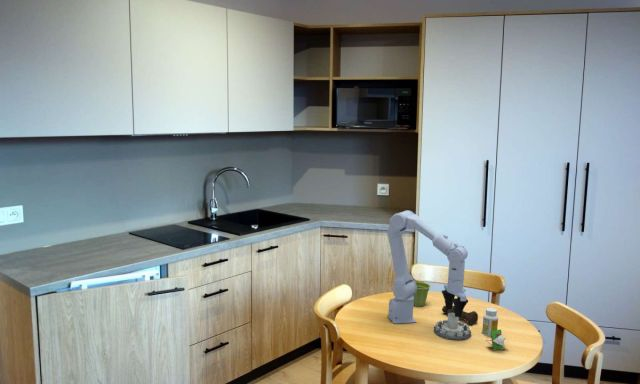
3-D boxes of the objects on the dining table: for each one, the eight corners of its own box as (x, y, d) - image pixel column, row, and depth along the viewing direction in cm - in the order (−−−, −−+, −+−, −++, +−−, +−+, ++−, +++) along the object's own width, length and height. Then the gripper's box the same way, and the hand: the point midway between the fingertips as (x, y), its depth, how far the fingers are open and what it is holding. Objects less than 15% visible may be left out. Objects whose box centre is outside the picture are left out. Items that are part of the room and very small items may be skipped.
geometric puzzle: (480, 337, 194) (489, 325, 188) (495, 335, 196) (505, 324, 190) (488, 355, 189) (498, 344, 184) (504, 353, 191) (515, 342, 186)
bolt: (444, 317, 223) (475, 327, 212) (438, 313, 220) (468, 323, 209) (449, 304, 225) (479, 313, 213) (443, 300, 222) (473, 310, 210)
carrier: (442, 341, 194) (443, 335, 194) (427, 326, 208) (428, 320, 208) (477, 339, 197) (478, 332, 197) (460, 324, 211) (460, 318, 211)
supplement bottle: (496, 332, 204) (498, 308, 203) (496, 337, 199) (498, 313, 198) (482, 330, 206) (484, 306, 205) (481, 335, 201) (483, 310, 200)
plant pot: (431, 302, 235) (432, 283, 234) (426, 309, 226) (427, 289, 225) (410, 299, 239) (411, 280, 237) (405, 305, 230) (406, 286, 229)
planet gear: (446, 335, 198) (447, 319, 197) (437, 326, 206) (438, 311, 205) (467, 333, 199) (468, 318, 198) (457, 325, 207) (458, 310, 207)
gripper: (475, 284, 193) (472, 319, 195) (456, 272, 207) (454, 305, 209) (457, 284, 192) (454, 320, 194) (440, 272, 206) (437, 306, 208)
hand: (453, 312), depth 202 cm, fingers open, 7 cm apart
